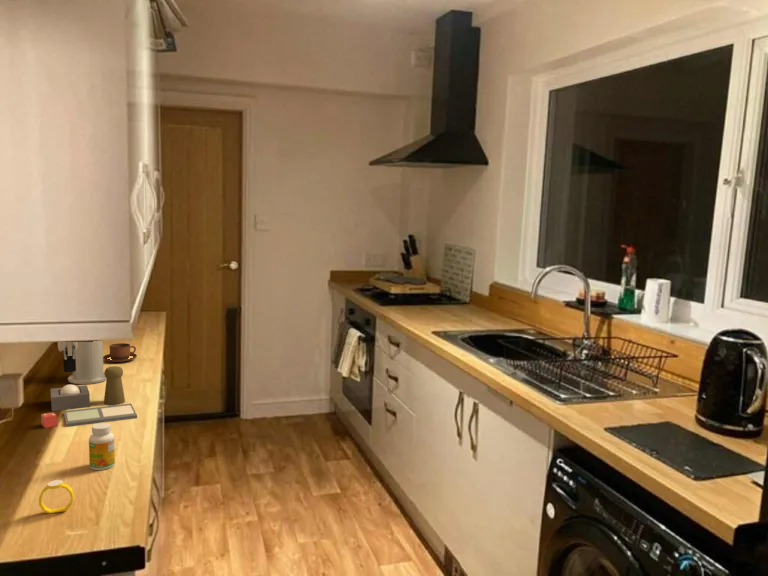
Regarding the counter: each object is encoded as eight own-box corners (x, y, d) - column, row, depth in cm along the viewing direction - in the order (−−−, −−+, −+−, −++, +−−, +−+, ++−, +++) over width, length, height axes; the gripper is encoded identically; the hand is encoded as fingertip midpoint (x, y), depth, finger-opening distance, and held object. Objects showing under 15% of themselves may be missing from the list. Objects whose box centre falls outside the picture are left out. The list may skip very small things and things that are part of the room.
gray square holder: (50, 401, 194) (50, 388, 193) (87, 397, 199) (86, 385, 198) (51, 411, 185) (51, 397, 185) (89, 406, 190) (89, 393, 189)
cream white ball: (59, 400, 193) (59, 383, 192) (79, 398, 195) (78, 381, 195) (60, 405, 188) (59, 388, 187) (80, 403, 191) (80, 386, 190)
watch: (75, 506, 128) (74, 478, 127) (73, 512, 125) (72, 483, 125) (41, 510, 126) (40, 481, 125) (38, 516, 123) (37, 487, 123)
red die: (41, 425, 173) (41, 414, 173) (53, 422, 175) (53, 411, 175) (45, 428, 171) (44, 416, 171) (57, 425, 173) (56, 414, 173)
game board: (64, 413, 183) (64, 410, 183) (131, 406, 192) (131, 403, 192) (66, 426, 173) (66, 423, 172) (137, 417, 181) (137, 414, 181)
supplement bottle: (84, 469, 146) (83, 428, 144) (98, 460, 151) (97, 420, 150) (106, 471, 145) (105, 430, 143) (119, 462, 150) (118, 422, 149)
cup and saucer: (121, 355, 254) (121, 340, 254) (143, 359, 249) (143, 344, 248) (96, 362, 244) (95, 346, 243) (118, 366, 238) (118, 350, 238)
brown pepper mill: (117, 406, 191) (116, 370, 190) (99, 404, 193) (98, 368, 191) (129, 400, 197) (128, 365, 196) (111, 398, 198) (110, 363, 197)
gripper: (52, 307, 193) (55, 365, 196) (54, 317, 180) (56, 379, 183) (79, 305, 197) (81, 363, 200) (83, 315, 184) (85, 376, 187)
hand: (69, 371), depth 192 cm, fingers closed
